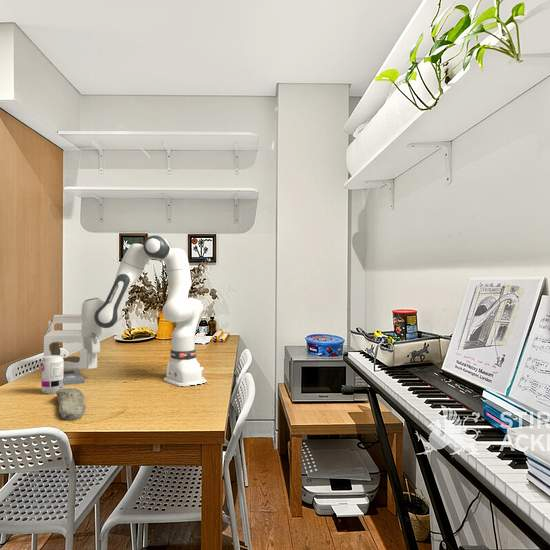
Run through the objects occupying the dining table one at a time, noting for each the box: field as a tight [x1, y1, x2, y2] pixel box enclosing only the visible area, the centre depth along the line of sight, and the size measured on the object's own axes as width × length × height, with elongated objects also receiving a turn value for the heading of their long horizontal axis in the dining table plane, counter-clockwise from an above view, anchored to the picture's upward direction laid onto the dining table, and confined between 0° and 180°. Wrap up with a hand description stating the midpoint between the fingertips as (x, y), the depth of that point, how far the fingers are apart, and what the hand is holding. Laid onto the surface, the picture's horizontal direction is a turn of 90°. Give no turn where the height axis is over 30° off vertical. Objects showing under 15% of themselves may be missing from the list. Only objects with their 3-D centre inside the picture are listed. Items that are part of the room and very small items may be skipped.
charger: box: [86, 351, 98, 370], centre depth 204 cm, size 4×4×8 cm
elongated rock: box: [55, 387, 87, 421], centre depth 162 cm, size 35×5×10 cm
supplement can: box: [41, 354, 65, 395], centre depth 181 cm, size 8×8×15 cm
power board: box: [63, 369, 85, 386], centre depth 203 cm, size 22×10×2 cm, turn 33°
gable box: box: [43, 314, 88, 370], centre depth 229 cm, size 22×13×28 cm, turn 99°
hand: (91, 360), depth 204 cm, fingers closed on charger, 4 cm apart
